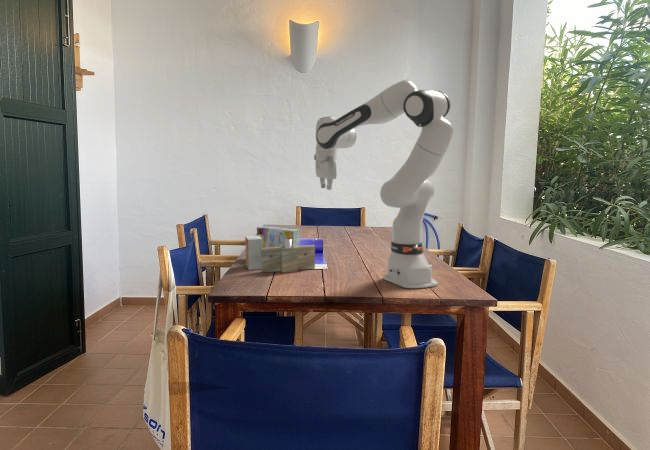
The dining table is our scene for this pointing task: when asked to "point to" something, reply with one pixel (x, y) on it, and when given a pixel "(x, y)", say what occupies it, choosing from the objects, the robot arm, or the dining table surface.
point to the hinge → (287, 258)
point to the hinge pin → (288, 243)
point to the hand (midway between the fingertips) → (326, 188)
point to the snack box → (278, 236)
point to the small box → (253, 252)
